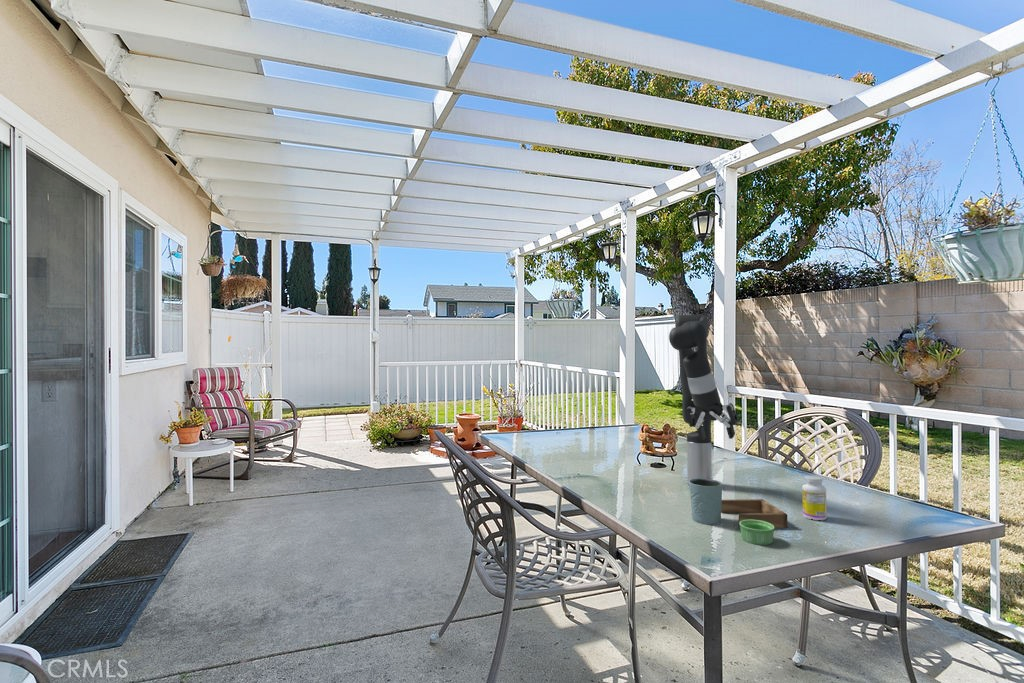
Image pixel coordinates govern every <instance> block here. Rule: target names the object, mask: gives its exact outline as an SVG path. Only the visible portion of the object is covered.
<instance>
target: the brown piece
mask: <svg viewBox="0 0 1024 683" xmlns="http://www.w3.org/2000/svg"><path fill="white" fill-rule="evenodd" d="M736 513H738V527H739V528H740V524H739V522H740V521H742V520H749V519H752V520H761V521H765V522H768V523H770V524H772V525H773V526H774V529H777V528H780V529H785V528H786V529H787V528H788V522H789V521H788V514H787V513H786V512H784V511H782V510H781V509H780V508H778V507H776V506H774V505H773V504H771V503H770V502H768V501H766V500H764V499H762V498H761V499H759V498H758V499H757V498H756V499H755V498H754V499H748V498H747V499H742V498H741V499H740V498H739V499H722V504H721V514H736Z"/></svg>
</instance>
